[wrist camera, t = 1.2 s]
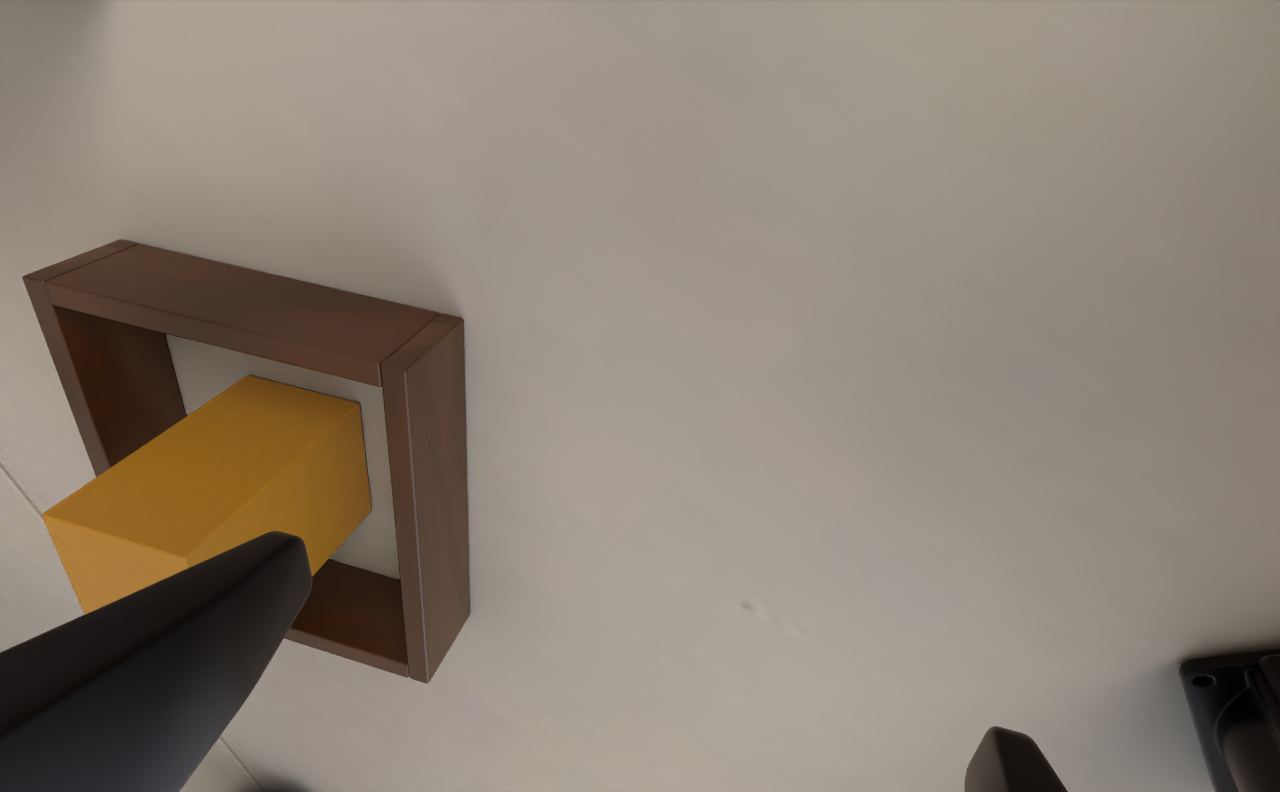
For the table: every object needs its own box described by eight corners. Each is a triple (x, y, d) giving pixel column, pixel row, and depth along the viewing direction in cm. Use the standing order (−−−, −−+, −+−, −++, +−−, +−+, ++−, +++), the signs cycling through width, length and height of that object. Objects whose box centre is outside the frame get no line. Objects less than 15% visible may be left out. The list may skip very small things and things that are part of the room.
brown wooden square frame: (464, 317, 23) (405, 370, 20) (470, 614, 30) (428, 685, 27) (119, 238, 25) (20, 276, 22) (204, 535, 32) (138, 592, 29)
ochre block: (360, 402, 26) (183, 558, 19) (372, 510, 28) (221, 679, 22) (247, 374, 26) (39, 514, 20) (270, 481, 29) (93, 637, 22)
